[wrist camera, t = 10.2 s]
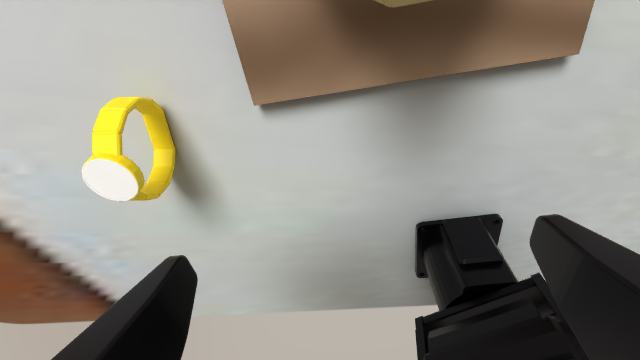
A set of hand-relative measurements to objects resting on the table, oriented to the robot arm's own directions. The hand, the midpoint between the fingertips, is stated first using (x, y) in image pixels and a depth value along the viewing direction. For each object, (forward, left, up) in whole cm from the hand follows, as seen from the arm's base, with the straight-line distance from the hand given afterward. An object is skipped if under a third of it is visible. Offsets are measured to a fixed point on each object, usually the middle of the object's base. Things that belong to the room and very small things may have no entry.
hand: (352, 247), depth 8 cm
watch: (-1, +12, -13) cm, 18 cm away
